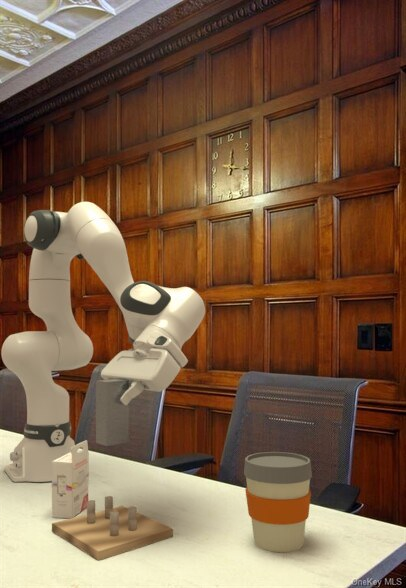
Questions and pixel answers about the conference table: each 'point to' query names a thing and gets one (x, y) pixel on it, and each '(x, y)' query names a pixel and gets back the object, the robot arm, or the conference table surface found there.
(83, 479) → the ink cartridge box
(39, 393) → the robot arm
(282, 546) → the reusable coffee cup
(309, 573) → the conference table surface
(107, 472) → the conference table surface
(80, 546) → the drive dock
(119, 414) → the plate
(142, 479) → the conference table surface
